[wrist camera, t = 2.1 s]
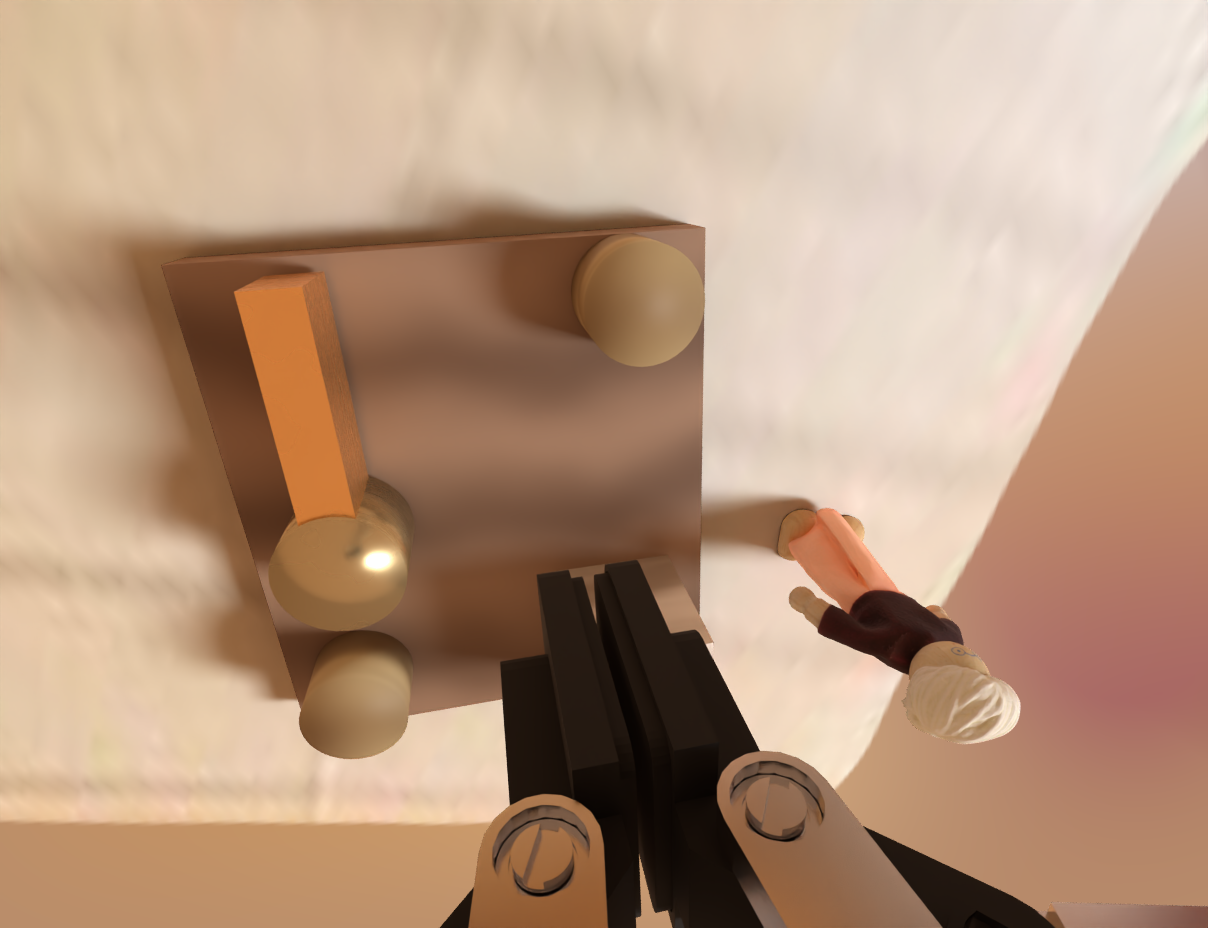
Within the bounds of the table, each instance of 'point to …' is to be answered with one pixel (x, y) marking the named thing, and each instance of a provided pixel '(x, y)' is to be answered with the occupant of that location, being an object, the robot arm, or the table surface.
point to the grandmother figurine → (895, 630)
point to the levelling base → (477, 445)
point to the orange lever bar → (322, 464)
